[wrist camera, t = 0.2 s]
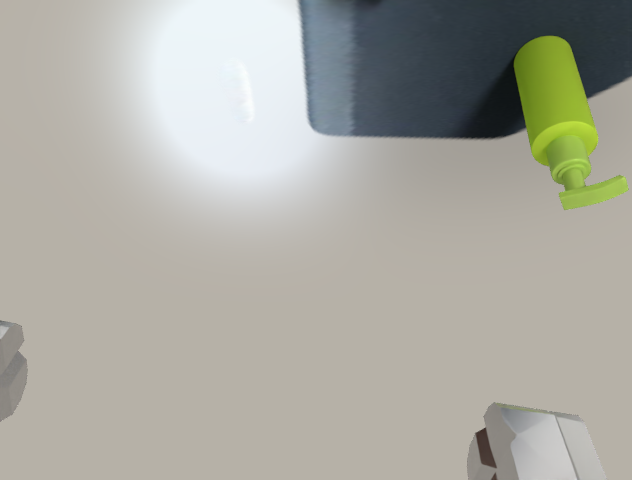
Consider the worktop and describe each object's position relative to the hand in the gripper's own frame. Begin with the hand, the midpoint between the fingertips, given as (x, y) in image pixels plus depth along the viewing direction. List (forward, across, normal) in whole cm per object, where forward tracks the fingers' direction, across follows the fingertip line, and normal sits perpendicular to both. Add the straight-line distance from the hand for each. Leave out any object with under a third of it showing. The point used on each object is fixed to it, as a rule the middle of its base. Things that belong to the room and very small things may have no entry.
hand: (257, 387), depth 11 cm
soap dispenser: (+59, -24, +7) cm, 64 cm away
